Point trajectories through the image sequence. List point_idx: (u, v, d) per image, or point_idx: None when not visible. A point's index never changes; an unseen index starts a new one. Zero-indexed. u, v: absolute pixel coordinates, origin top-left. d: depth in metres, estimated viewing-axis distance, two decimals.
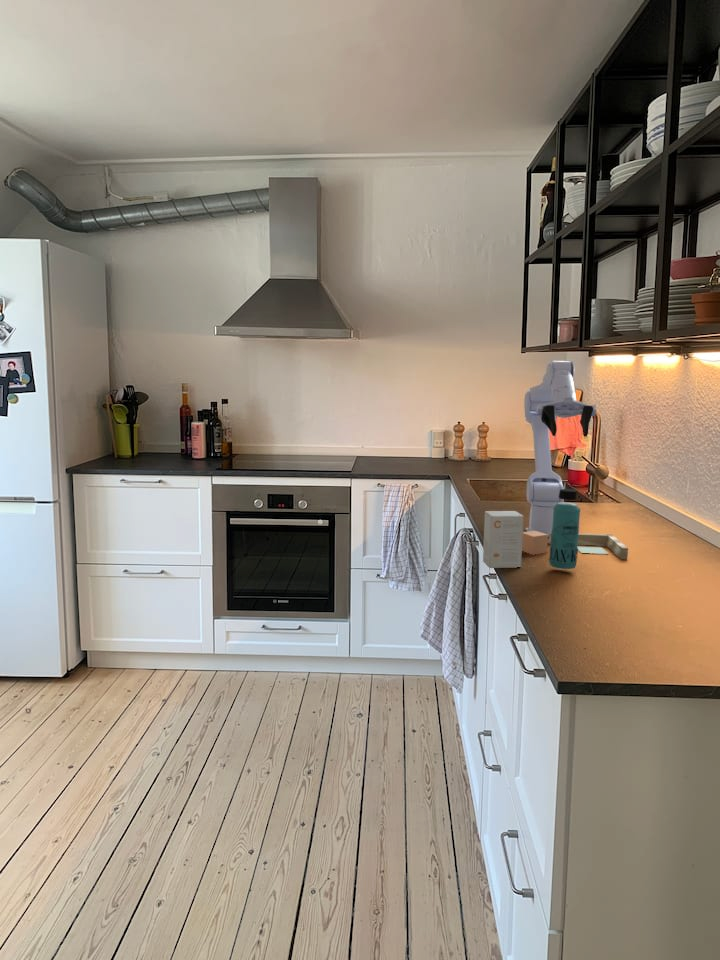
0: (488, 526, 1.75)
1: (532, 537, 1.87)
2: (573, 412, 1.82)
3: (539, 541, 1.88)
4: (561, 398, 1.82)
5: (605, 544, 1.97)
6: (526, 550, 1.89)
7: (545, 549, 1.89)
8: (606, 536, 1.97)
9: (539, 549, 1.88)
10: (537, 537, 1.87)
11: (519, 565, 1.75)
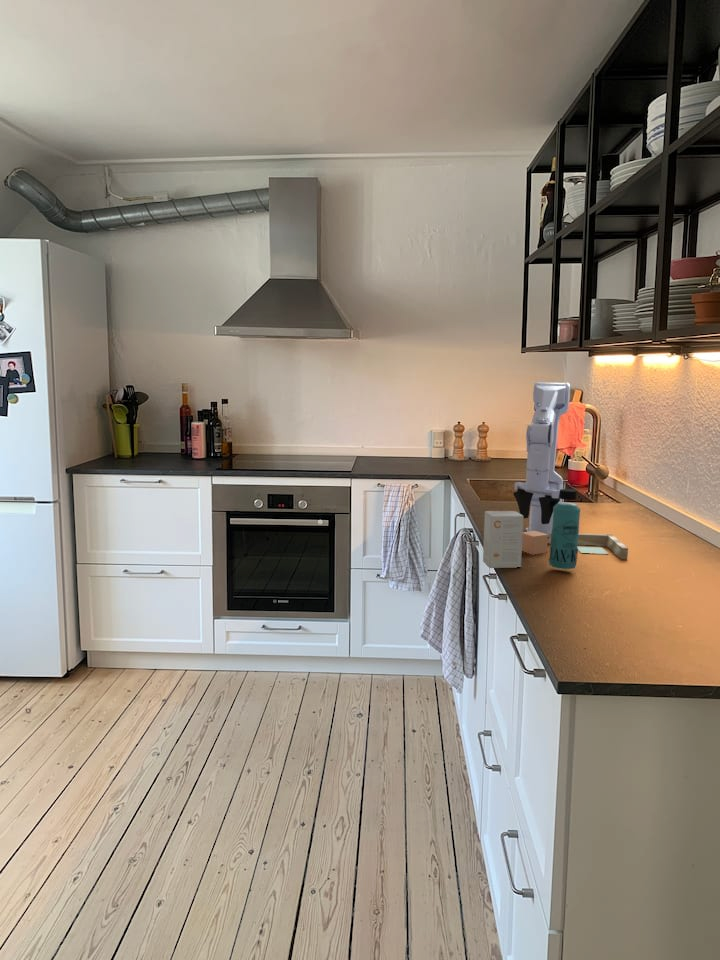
0: (488, 526, 1.75)
1: (532, 537, 1.87)
2: None
3: (538, 541, 1.88)
4: (526, 483, 1.88)
5: (605, 544, 1.97)
6: (526, 550, 1.89)
7: (545, 549, 1.89)
8: (606, 536, 1.97)
9: (539, 549, 1.88)
10: (536, 537, 1.87)
11: (519, 565, 1.75)
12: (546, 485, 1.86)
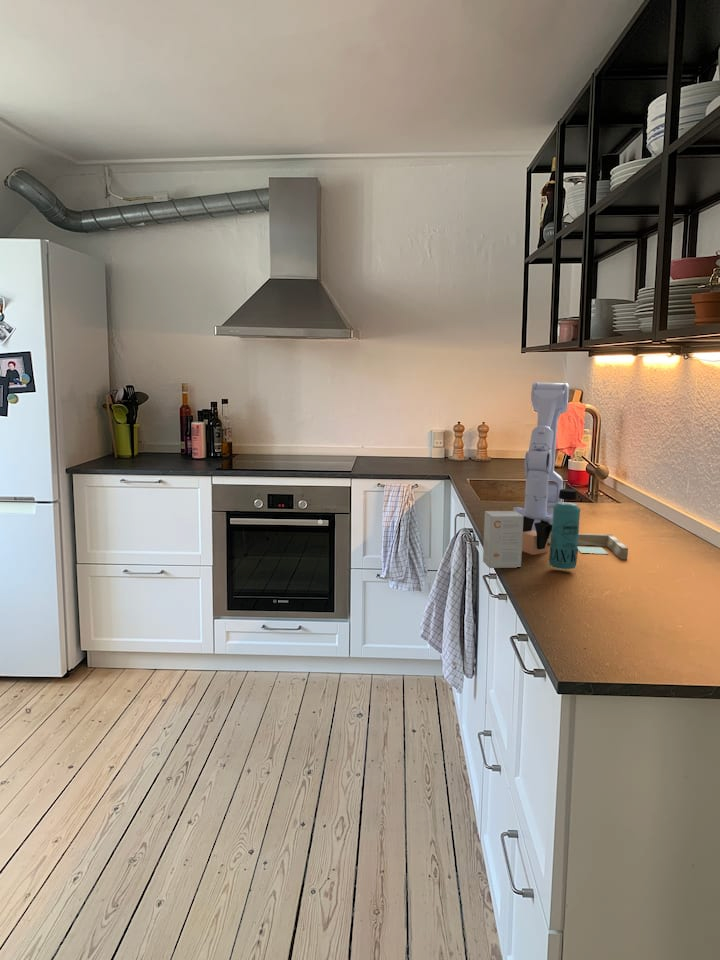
0: (488, 526, 1.75)
1: (532, 537, 1.87)
2: None
3: None
4: (524, 509, 1.89)
5: (605, 544, 1.97)
6: (526, 550, 1.89)
7: (545, 549, 1.89)
8: (606, 536, 1.97)
9: (539, 549, 1.88)
10: None
11: (519, 565, 1.75)
12: (545, 511, 1.87)
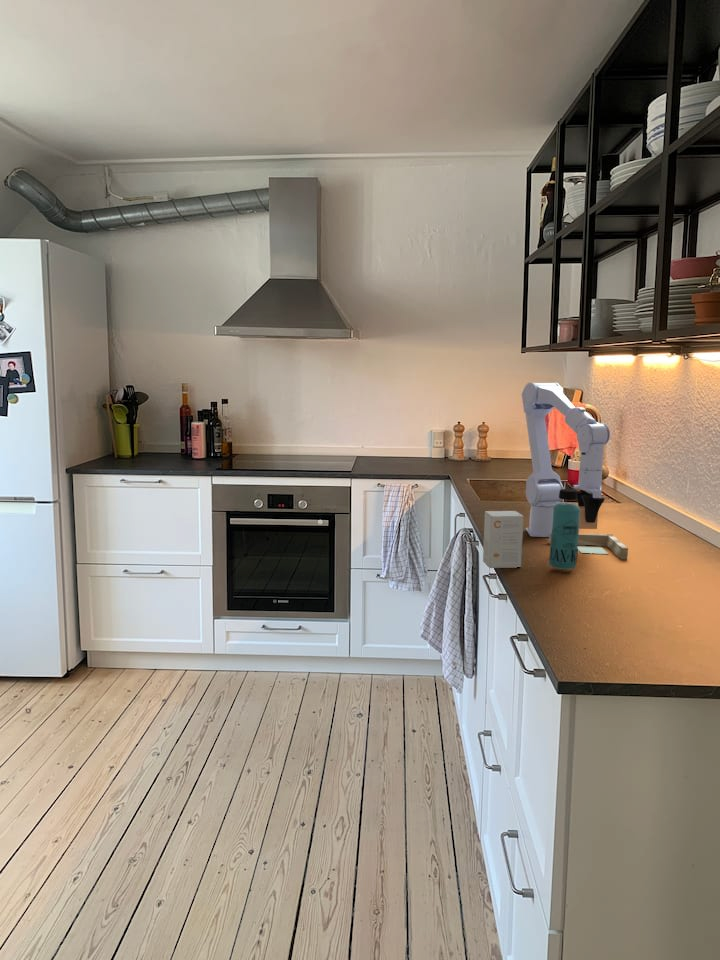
0: (488, 526, 1.75)
1: None
2: (590, 493, 1.88)
3: None
4: None
5: (605, 544, 1.97)
6: None
7: (595, 525, 1.88)
8: (606, 536, 1.97)
9: (586, 524, 1.88)
10: (583, 511, 1.88)
11: (519, 565, 1.75)
12: (595, 485, 1.86)
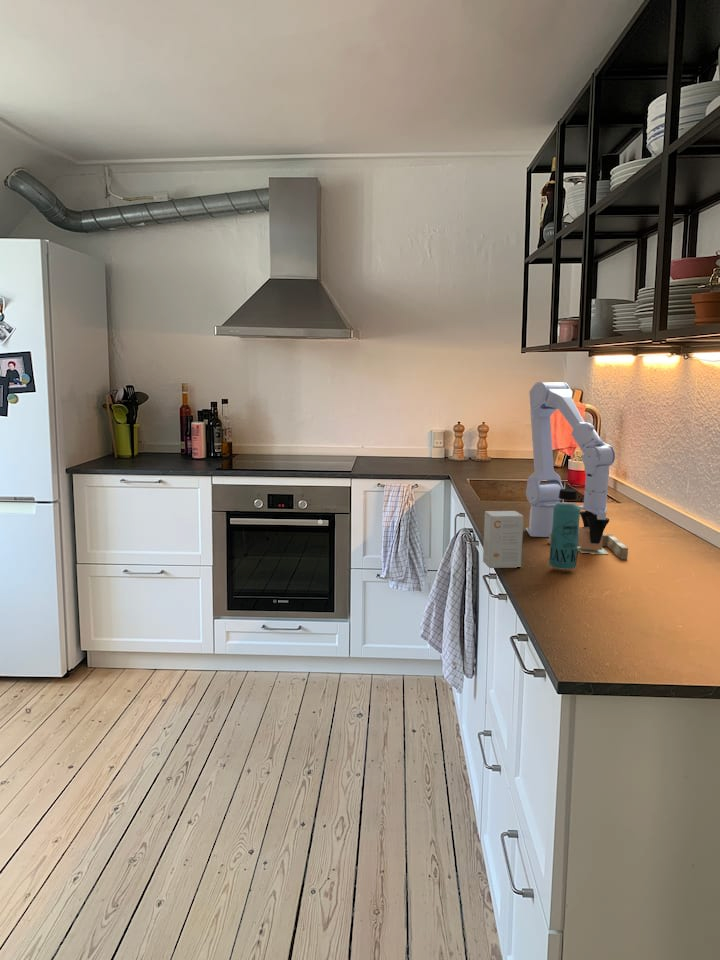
0: (488, 526, 1.75)
1: (583, 531, 1.90)
2: None
3: None
4: None
5: (605, 544, 1.97)
6: (580, 544, 1.92)
7: (600, 546, 1.90)
8: (606, 536, 1.97)
9: (591, 545, 1.90)
10: (587, 532, 1.89)
11: (519, 565, 1.75)
12: (600, 506, 1.88)
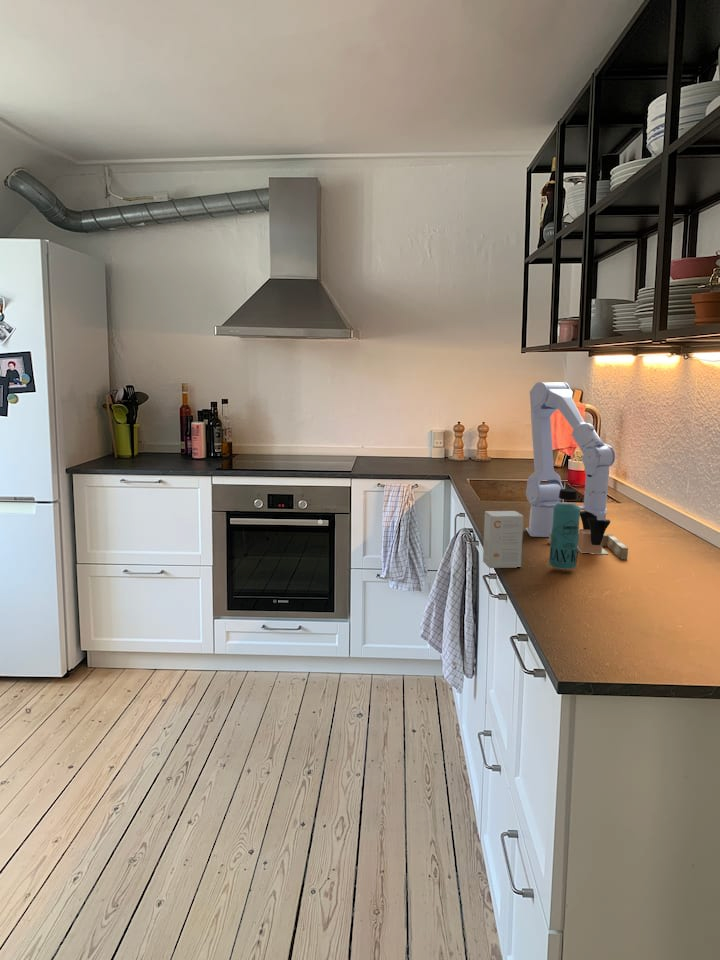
0: (488, 526, 1.75)
1: (583, 534, 1.90)
2: (595, 515, 1.89)
3: (590, 539, 1.89)
4: None
5: (605, 544, 1.97)
6: (580, 547, 1.92)
7: (599, 548, 1.90)
8: (606, 536, 1.97)
9: (591, 547, 1.90)
10: (587, 535, 1.89)
11: (519, 565, 1.75)
12: (600, 507, 1.88)
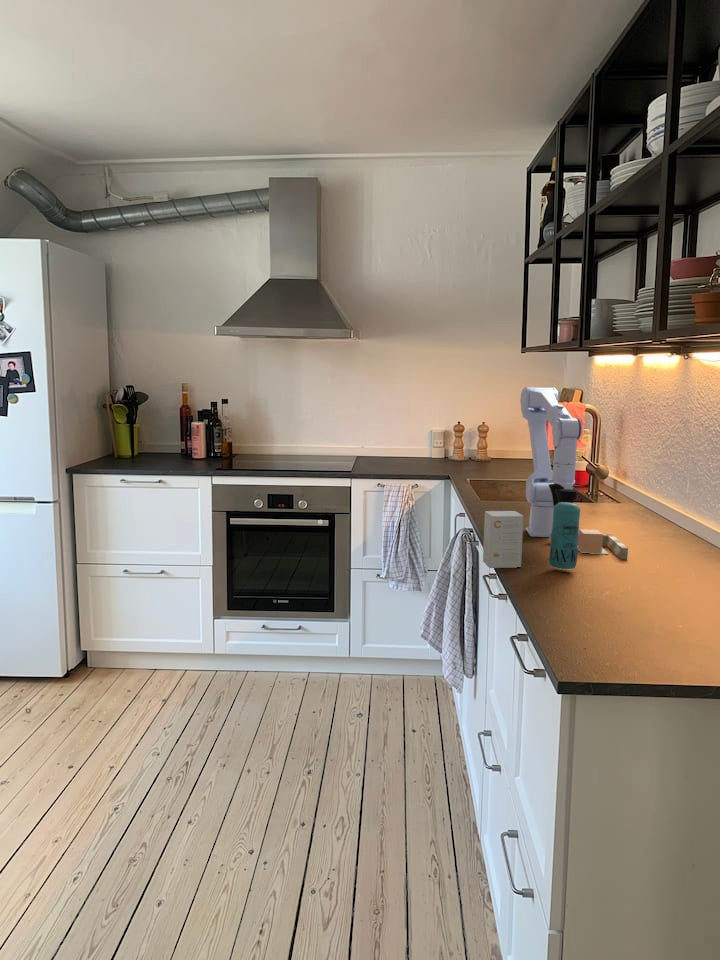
0: (488, 526, 1.75)
1: (583, 534, 1.90)
2: (564, 487, 1.92)
3: (590, 539, 1.89)
4: None
5: (605, 544, 1.97)
6: (580, 547, 1.92)
7: (599, 548, 1.90)
8: (606, 536, 1.97)
9: (591, 547, 1.90)
10: (587, 535, 1.89)
11: (519, 565, 1.75)
12: (568, 478, 1.90)
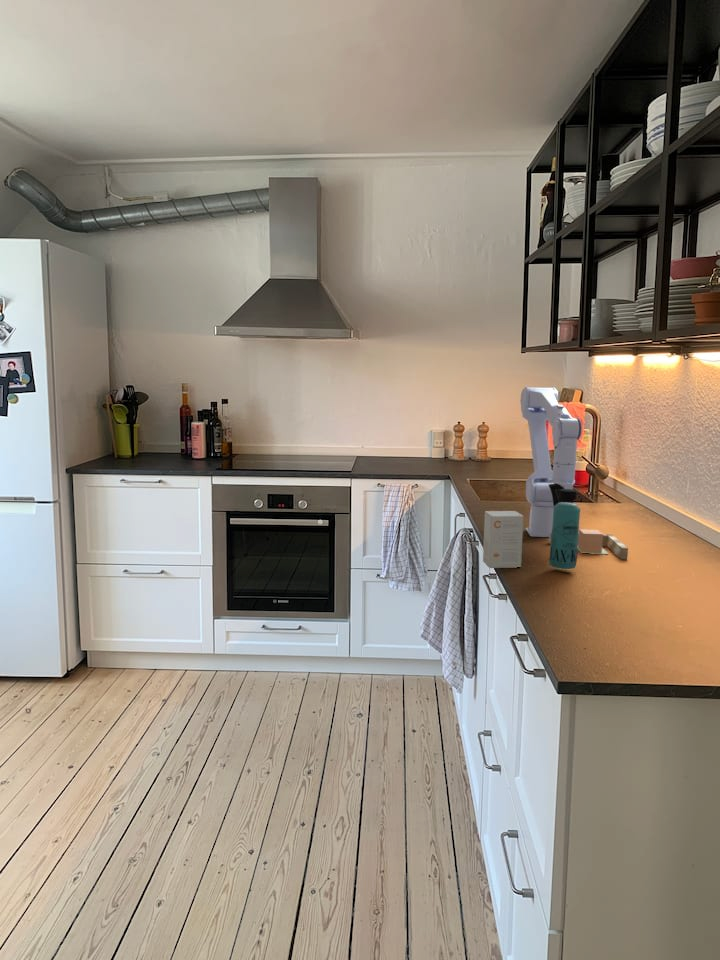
0: (488, 526, 1.75)
1: (583, 534, 1.90)
2: (564, 487, 1.92)
3: (590, 539, 1.89)
4: None
5: (605, 544, 1.97)
6: (580, 547, 1.92)
7: (599, 548, 1.90)
8: (606, 536, 1.97)
9: (591, 547, 1.90)
10: (587, 535, 1.89)
11: (519, 565, 1.75)
12: (568, 478, 1.90)
